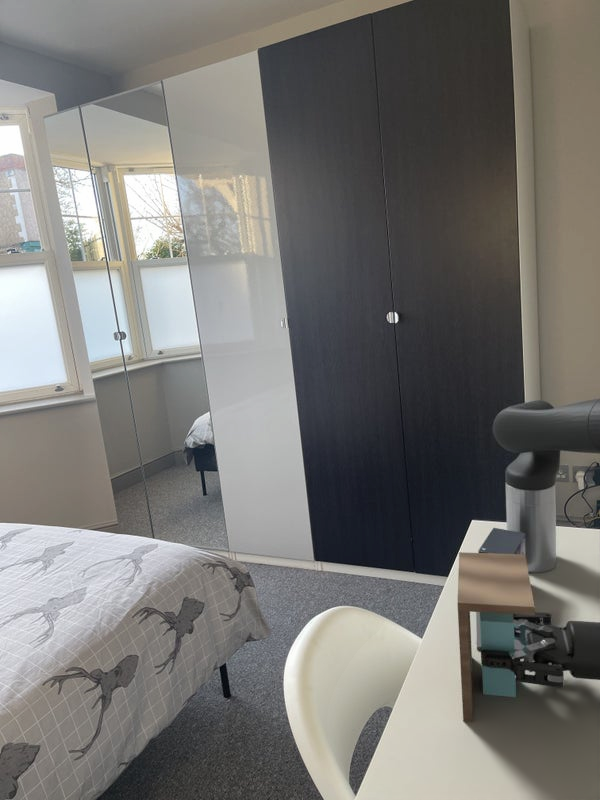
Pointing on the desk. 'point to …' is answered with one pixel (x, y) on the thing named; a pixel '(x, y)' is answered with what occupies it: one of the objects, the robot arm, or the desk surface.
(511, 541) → the small box
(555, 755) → the desk surface
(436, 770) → the desk surface
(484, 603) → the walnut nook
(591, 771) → the desk surface
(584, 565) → the desk surface
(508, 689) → the teal block
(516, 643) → the rubber mat
